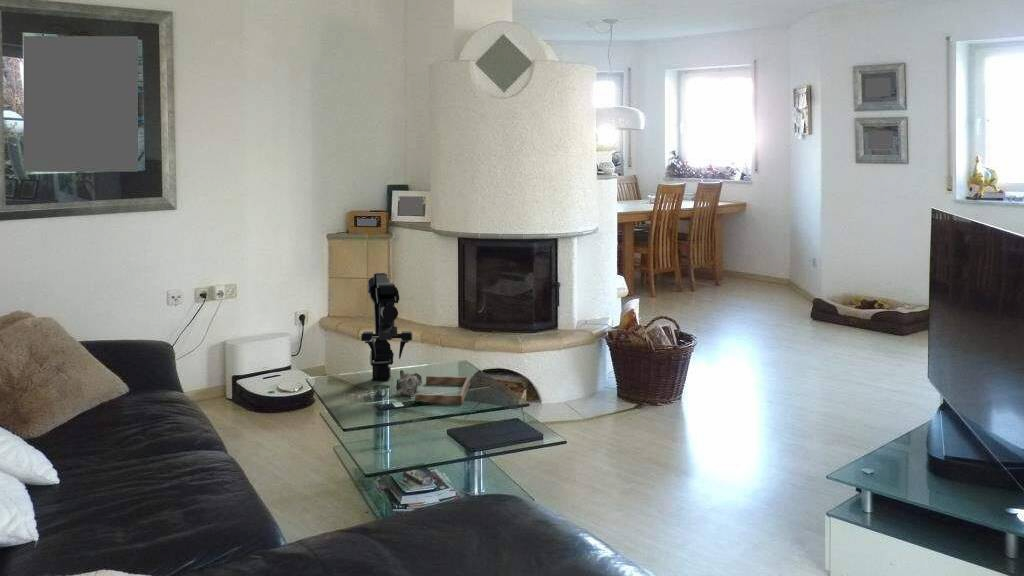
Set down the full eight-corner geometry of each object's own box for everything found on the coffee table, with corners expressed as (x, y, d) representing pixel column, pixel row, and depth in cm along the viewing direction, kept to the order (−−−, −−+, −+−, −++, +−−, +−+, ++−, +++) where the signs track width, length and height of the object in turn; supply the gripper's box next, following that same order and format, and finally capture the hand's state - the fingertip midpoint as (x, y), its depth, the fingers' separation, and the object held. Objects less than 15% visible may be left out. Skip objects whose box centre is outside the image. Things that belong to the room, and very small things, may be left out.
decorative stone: (419, 397, 342) (413, 371, 341) (395, 402, 343) (389, 376, 342) (427, 388, 358) (421, 362, 357) (404, 392, 359) (398, 368, 358)
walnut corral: (414, 402, 337) (414, 394, 336) (426, 383, 365) (426, 375, 364) (462, 404, 336) (462, 396, 335) (470, 384, 364) (470, 377, 363)
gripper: (359, 320, 339) (359, 362, 341) (410, 320, 340) (411, 362, 341) (362, 316, 350) (363, 357, 352) (412, 316, 351) (412, 357, 352)
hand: (387, 358), depth 349 cm, fingers open, 9 cm apart
